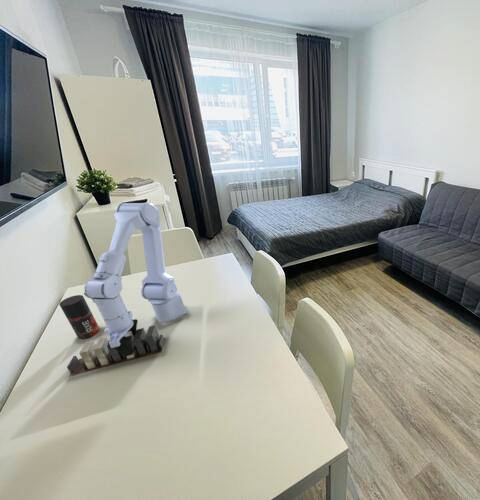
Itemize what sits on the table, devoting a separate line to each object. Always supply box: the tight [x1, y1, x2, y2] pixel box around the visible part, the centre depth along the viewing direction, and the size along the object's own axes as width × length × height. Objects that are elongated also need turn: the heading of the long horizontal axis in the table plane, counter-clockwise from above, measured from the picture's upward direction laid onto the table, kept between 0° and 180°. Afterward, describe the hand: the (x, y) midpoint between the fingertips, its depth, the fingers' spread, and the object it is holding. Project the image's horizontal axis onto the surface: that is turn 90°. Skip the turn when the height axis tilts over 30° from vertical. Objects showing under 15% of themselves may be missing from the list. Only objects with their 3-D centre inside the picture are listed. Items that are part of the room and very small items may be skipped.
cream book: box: [124, 331, 135, 359], centre depth 84 cm, size 2×5×6 cm, turn 22°
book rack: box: [66, 324, 166, 378], centre depth 83 cm, size 24×7×8 cm, turn 112°
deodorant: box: [59, 294, 101, 341], centre depth 91 cm, size 6×6×15 cm
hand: (131, 348), depth 85 cm, fingers closed on cream book, 5 cm apart
